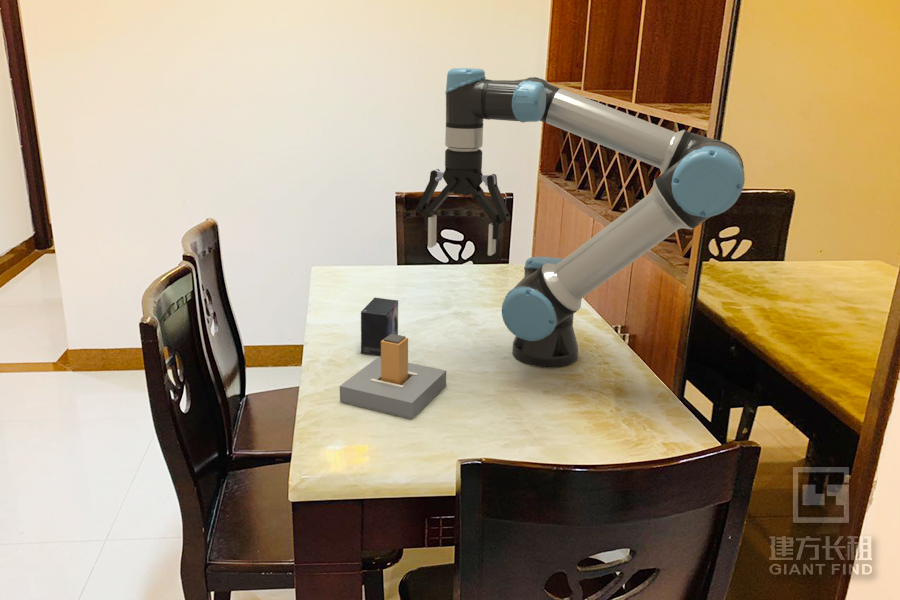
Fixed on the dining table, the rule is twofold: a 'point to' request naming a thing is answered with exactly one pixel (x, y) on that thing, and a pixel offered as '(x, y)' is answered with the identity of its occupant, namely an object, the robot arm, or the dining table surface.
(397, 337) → the plug
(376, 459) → the dining table surface
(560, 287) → the robot arm
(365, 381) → the socket
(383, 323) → the small box
